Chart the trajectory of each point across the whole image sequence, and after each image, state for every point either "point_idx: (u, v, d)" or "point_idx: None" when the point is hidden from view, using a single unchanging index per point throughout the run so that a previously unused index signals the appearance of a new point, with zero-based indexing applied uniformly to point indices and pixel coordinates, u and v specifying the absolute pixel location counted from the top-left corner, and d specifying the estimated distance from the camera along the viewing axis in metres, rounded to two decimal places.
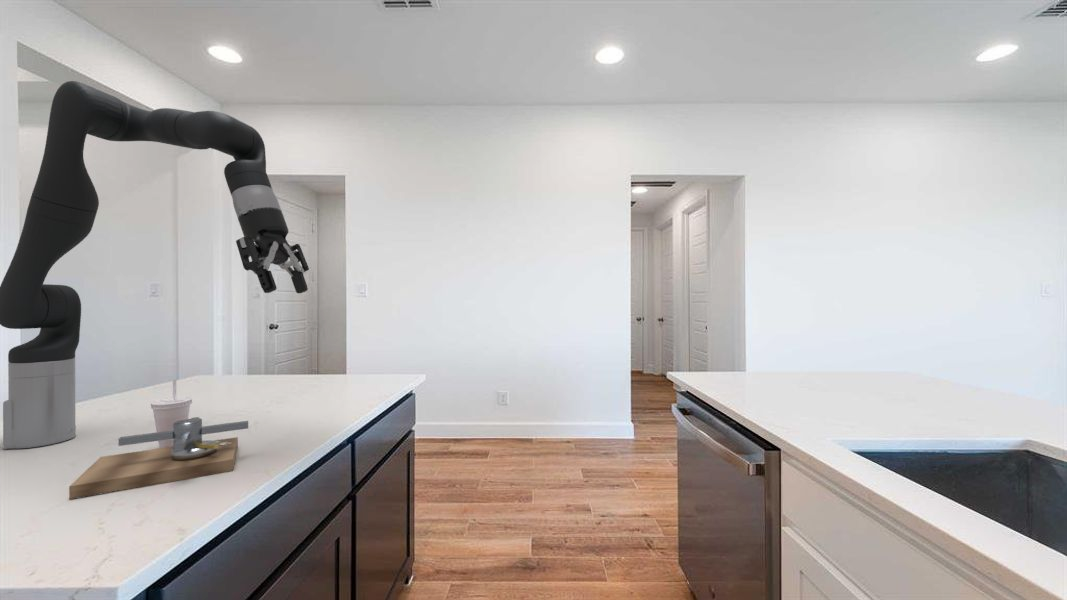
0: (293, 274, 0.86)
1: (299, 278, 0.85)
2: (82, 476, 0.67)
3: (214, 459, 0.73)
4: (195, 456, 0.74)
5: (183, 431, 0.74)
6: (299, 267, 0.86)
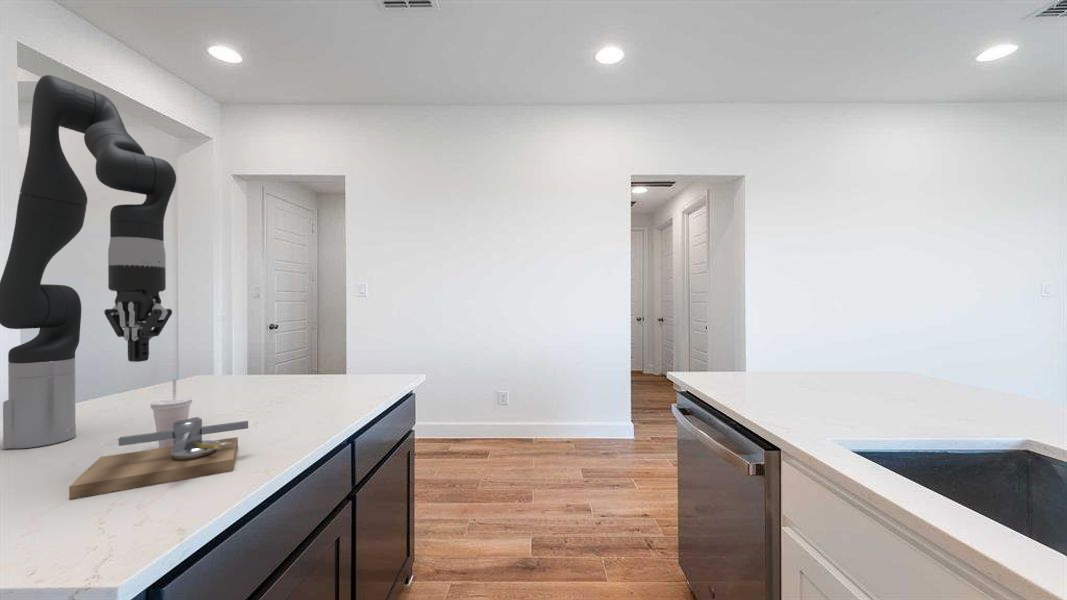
0: None
1: None
2: (82, 476, 0.67)
3: (214, 459, 0.73)
4: (195, 456, 0.74)
5: (183, 431, 0.74)
6: (133, 333, 0.74)
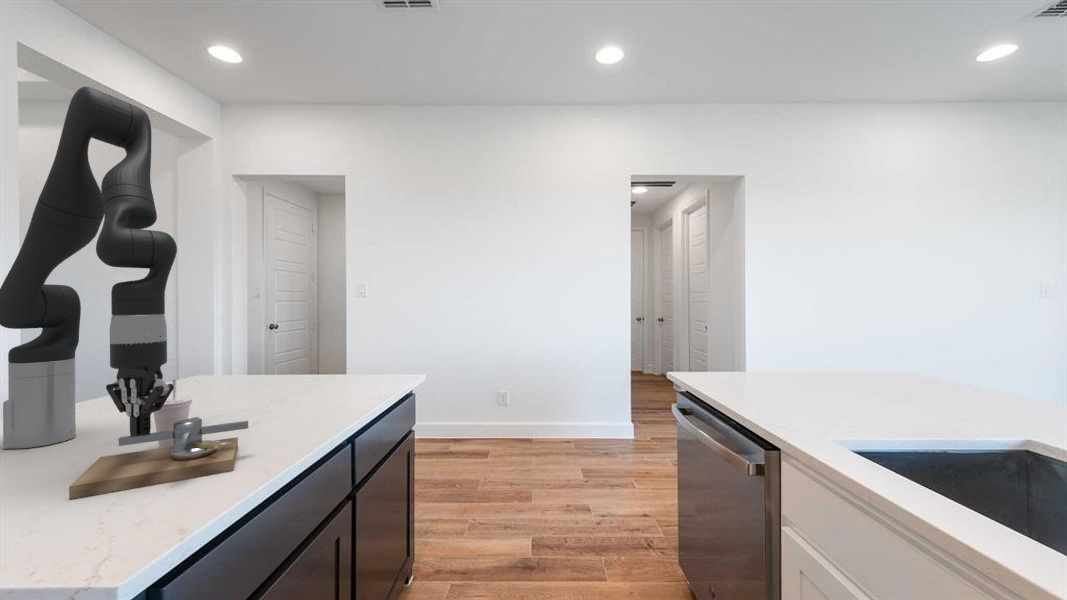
0: None
1: None
2: (82, 476, 0.67)
3: (214, 459, 0.73)
4: (195, 456, 0.74)
5: (183, 431, 0.74)
6: (135, 409, 0.75)
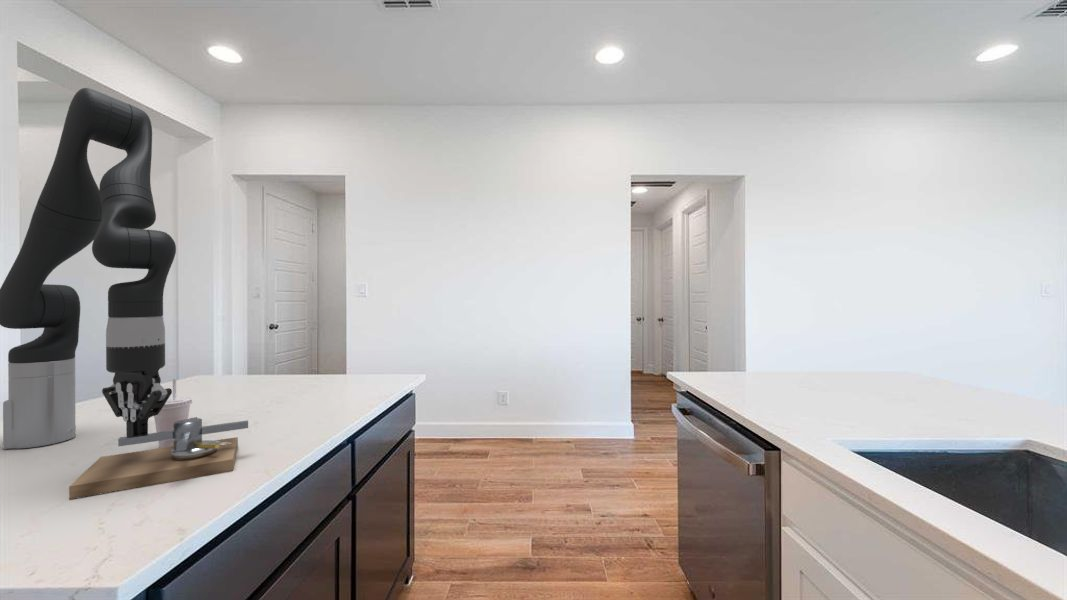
0: None
1: None
2: (82, 476, 0.67)
3: (214, 459, 0.73)
4: (196, 456, 0.74)
5: (183, 431, 0.74)
6: (132, 414, 0.72)
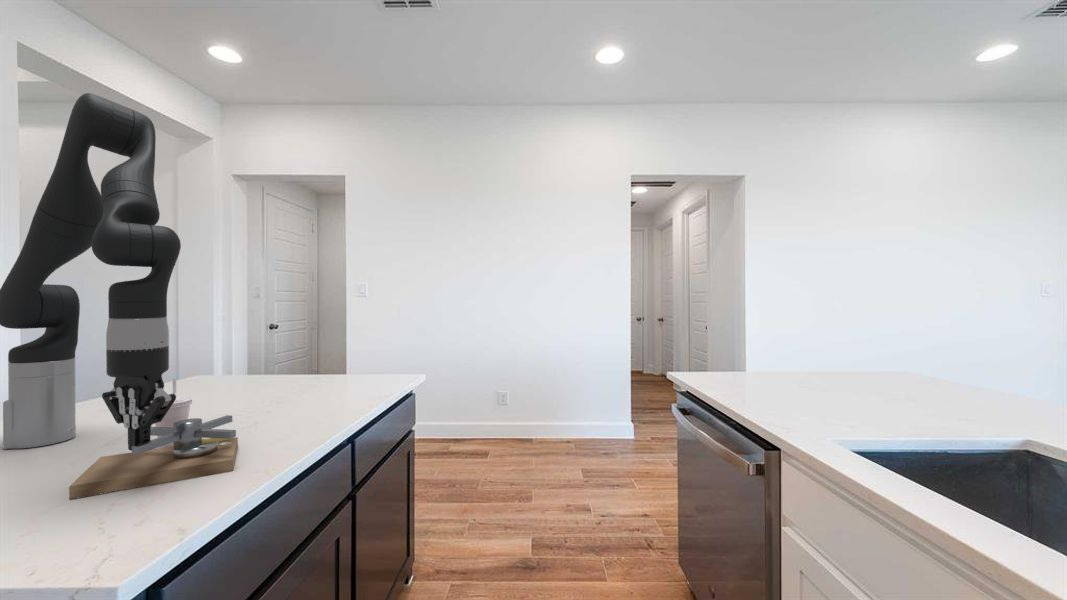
0: None
1: None
2: (82, 476, 0.67)
3: (214, 459, 0.73)
4: (214, 449, 0.77)
5: (195, 429, 0.75)
6: (134, 421, 0.68)
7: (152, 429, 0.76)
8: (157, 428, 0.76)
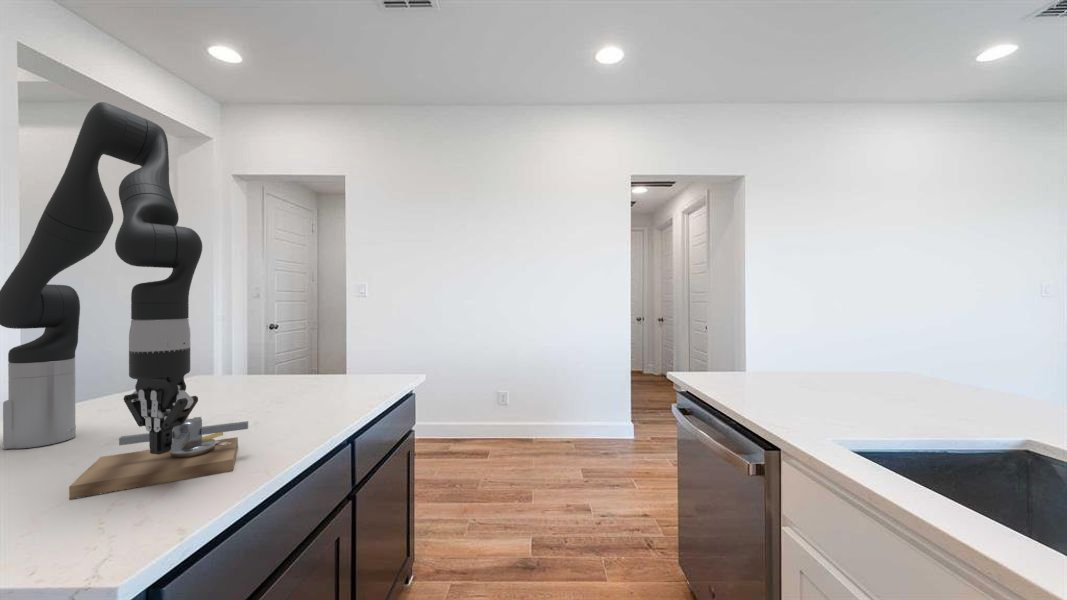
0: None
1: None
2: (82, 476, 0.67)
3: (214, 459, 0.73)
4: None
5: (201, 427, 0.77)
6: (156, 424, 0.67)
7: (138, 436, 0.72)
8: (143, 435, 0.73)
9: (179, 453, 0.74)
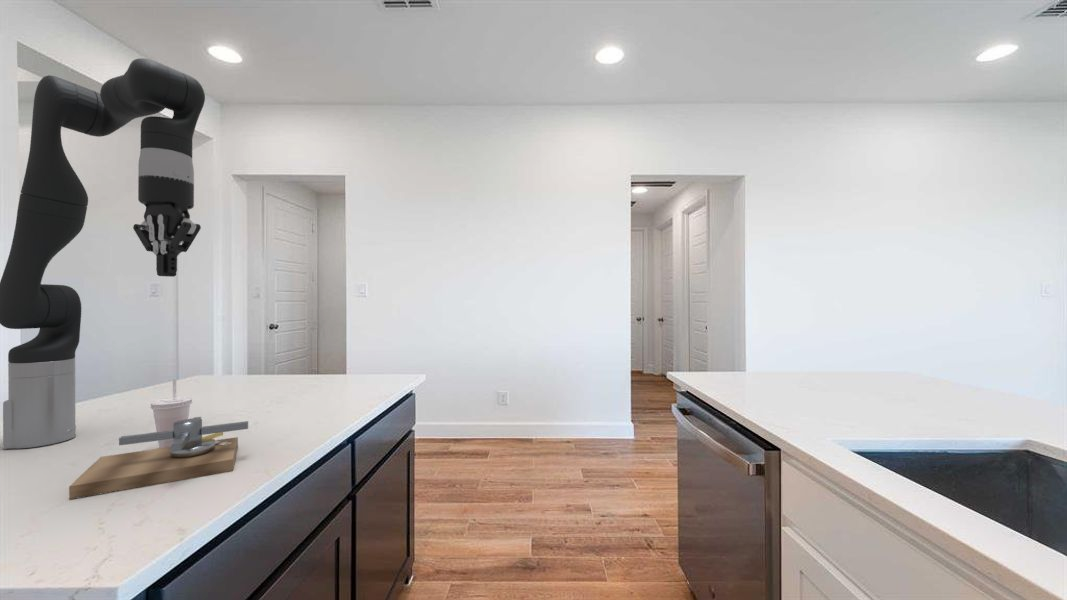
0: None
1: None
2: (82, 476, 0.67)
3: (214, 459, 0.73)
4: None
5: (201, 427, 0.77)
6: (162, 246, 0.74)
7: (138, 436, 0.72)
8: (143, 435, 0.73)
9: (179, 453, 0.74)
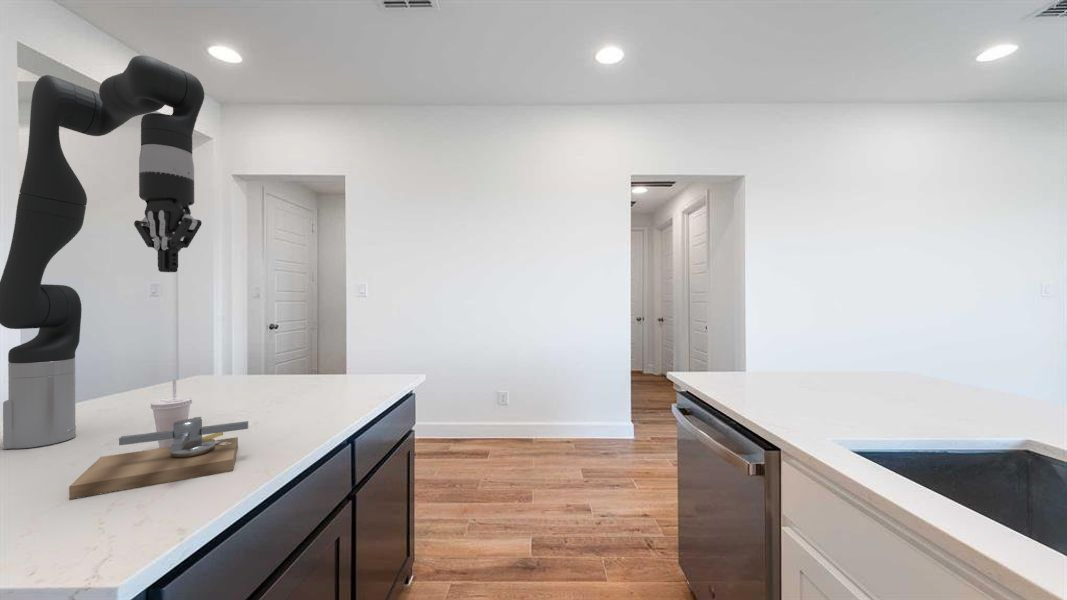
0: None
1: None
2: (82, 476, 0.67)
3: (214, 459, 0.73)
4: None
5: (201, 427, 0.77)
6: (164, 242, 0.75)
7: (138, 436, 0.72)
8: (143, 435, 0.73)
9: (179, 453, 0.74)
